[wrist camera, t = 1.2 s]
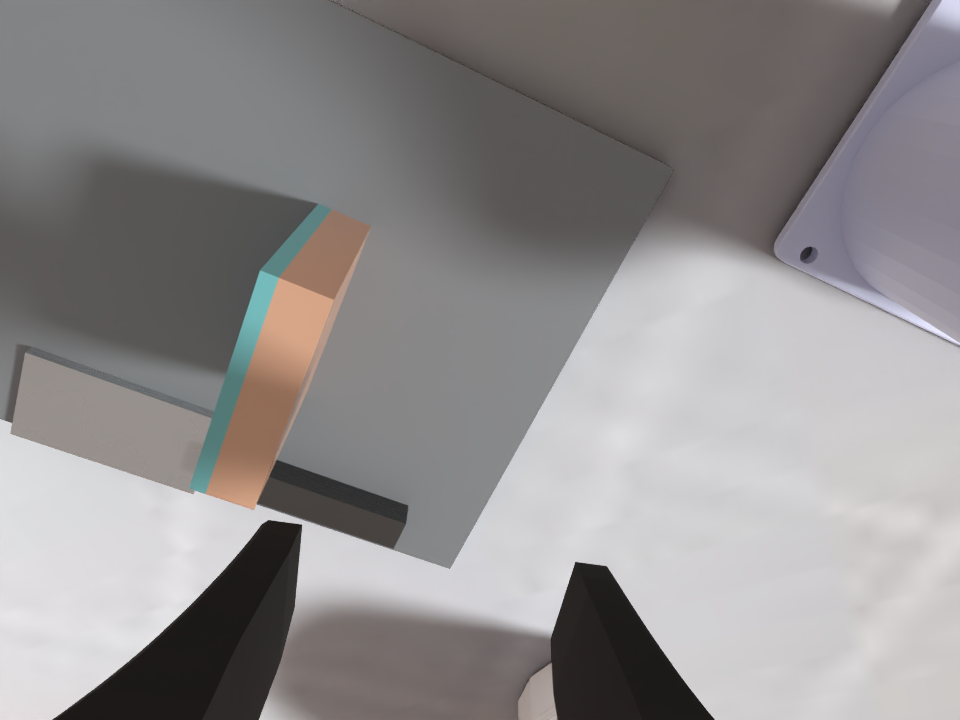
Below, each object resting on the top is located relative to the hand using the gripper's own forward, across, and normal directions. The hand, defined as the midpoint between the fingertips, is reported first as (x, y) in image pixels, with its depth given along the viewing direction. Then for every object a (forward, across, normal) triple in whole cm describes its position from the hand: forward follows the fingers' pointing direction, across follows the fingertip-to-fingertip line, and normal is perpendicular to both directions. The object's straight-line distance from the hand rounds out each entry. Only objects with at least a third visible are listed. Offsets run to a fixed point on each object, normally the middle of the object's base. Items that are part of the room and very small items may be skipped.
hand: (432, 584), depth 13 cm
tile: (+10, +4, -1) cm, 11 cm away
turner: (+10, +7, +5) cm, 13 cm away
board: (+10, +5, -1) cm, 12 cm away
